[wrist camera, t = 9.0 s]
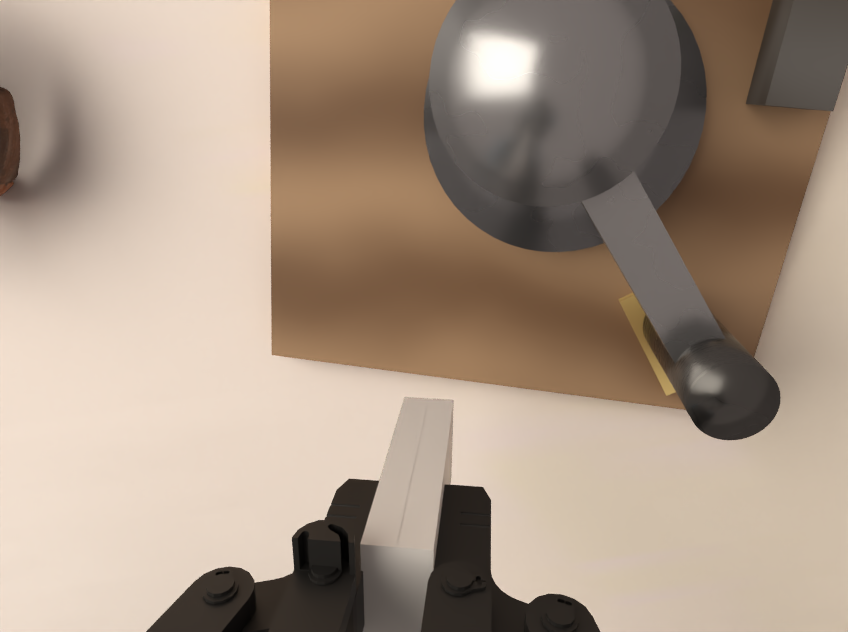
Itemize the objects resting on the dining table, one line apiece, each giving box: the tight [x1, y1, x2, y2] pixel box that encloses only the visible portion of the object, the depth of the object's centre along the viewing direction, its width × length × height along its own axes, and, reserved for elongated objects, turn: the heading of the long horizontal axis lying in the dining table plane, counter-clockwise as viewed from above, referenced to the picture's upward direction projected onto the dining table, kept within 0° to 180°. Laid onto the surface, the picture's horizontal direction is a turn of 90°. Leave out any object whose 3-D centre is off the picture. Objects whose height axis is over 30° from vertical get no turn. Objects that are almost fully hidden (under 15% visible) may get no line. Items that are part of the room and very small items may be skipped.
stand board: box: [270, 0, 848, 410], centre depth 21 cm, size 20×19×4 cm
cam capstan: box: [424, 0, 780, 440], centre depth 18 cm, size 14×9×6 cm, turn 34°
